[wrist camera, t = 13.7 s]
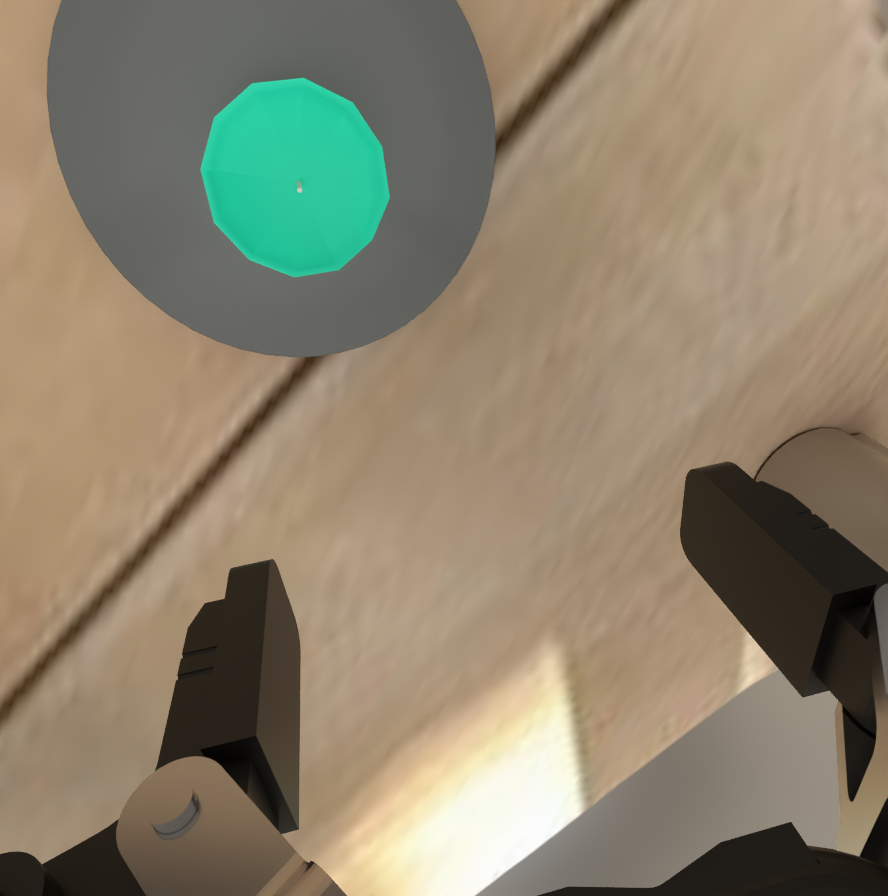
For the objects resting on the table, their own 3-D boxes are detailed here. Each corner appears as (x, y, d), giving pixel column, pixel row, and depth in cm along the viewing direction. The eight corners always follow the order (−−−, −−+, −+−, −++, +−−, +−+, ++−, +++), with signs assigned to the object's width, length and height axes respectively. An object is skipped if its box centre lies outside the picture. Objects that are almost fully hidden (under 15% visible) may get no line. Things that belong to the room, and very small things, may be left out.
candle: (268, 245, 30) (258, 318, 20) (201, 116, 27) (149, 125, 17) (378, 196, 30) (425, 244, 20) (325, 61, 27) (348, 37, 17)
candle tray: (462, -150, 25) (470, -161, 24) (505, 308, 36) (511, 314, 35) (-42, -87, 23) (-57, -96, 22) (160, 383, 33) (156, 392, 32)
